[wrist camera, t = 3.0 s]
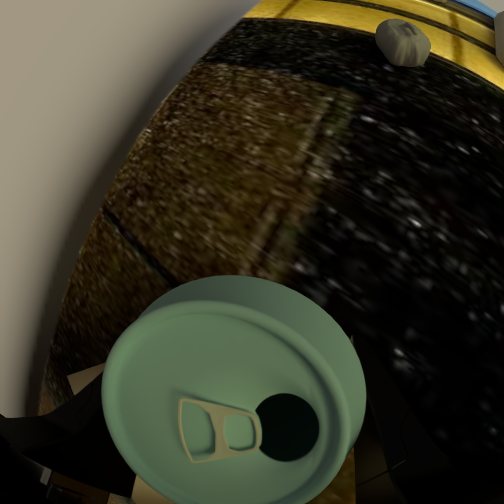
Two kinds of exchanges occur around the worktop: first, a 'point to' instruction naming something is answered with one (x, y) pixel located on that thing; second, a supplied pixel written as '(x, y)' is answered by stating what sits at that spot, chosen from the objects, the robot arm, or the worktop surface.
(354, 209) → the worktop surface
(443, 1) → the hand bell
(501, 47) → the crystal
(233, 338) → the can
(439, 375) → the worktop surface
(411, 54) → the grey pumpkin
